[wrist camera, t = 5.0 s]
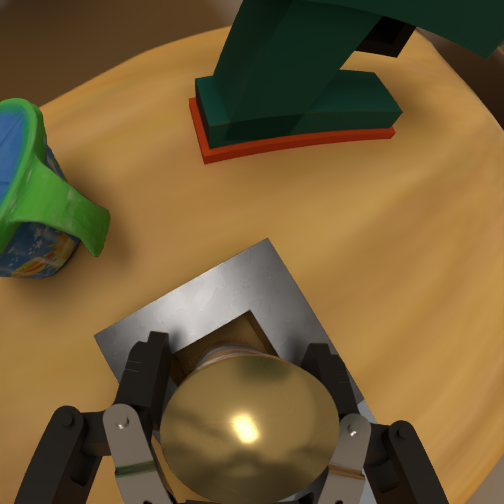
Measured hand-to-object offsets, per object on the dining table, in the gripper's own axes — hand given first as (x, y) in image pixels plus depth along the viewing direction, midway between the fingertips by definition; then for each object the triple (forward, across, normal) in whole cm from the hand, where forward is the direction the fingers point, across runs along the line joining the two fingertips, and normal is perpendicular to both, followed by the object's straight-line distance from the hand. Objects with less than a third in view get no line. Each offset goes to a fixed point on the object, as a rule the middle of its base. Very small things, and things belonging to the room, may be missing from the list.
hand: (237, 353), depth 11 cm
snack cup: (+9, +15, 0) cm, 18 cm away
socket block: (+3, 0, +6) cm, 6 cm away
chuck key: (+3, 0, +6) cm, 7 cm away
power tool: (+20, -11, -11) cm, 25 cm away
